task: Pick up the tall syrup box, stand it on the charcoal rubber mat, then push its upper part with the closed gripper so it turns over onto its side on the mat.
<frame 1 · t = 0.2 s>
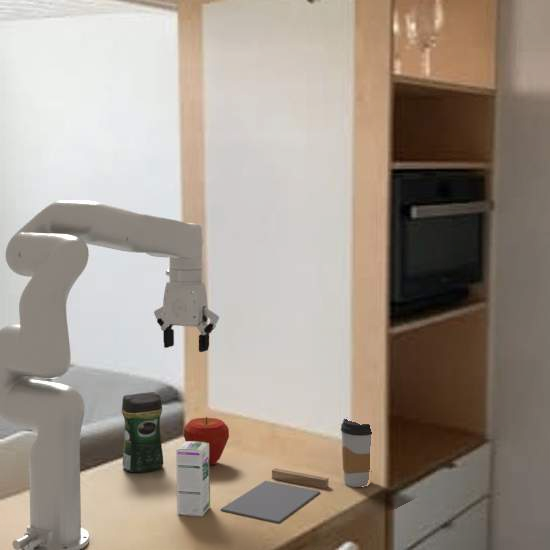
hand: (186, 348, 206), 31 cm above the table, tool pointing down, fingers open, 9 cm apart
coffee jar: (142, 468, 215), on the table
mat: (271, 501, 194), on the table
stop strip: (299, 482, 206), on the table
coffee cup: (357, 484, 206), on the table
syrup box: (193, 511, 188), on the table
apple: (206, 464, 218), on the table
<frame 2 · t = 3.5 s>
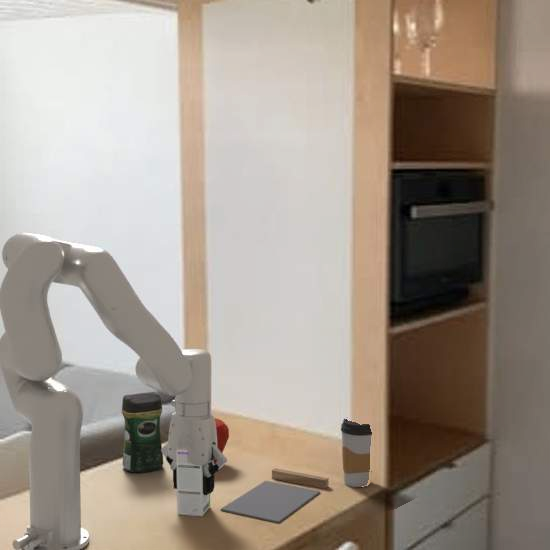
hand: (193, 489, 187), 5 cm above the table, tool pointing down, fingers closed on syrup box, 6 cm apart
syrup box: (193, 511, 188), on the table, touching gripper
everything else where it was.
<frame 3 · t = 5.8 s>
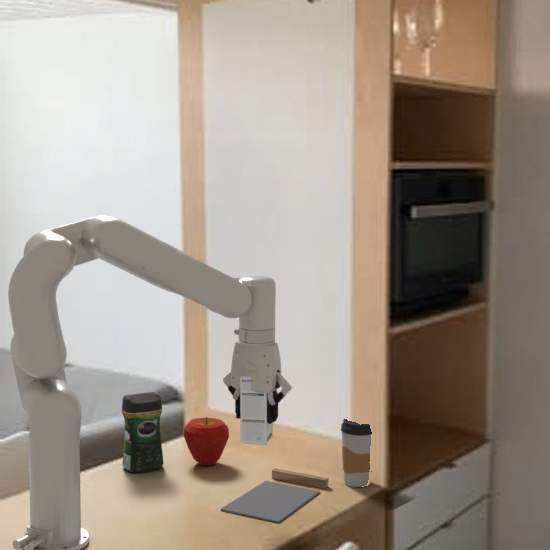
hand: (256, 418, 185), 20 cm above the table, tool pointing down, fingers closed on syrup box, 6 cm apart
syrup box: (256, 441, 186), point 15 cm above the table, touching gripper
everything else where it was.
when the fingers open (6 cm above the table, at t = 8.4 s): syrup box stays where it is, resting on mat.
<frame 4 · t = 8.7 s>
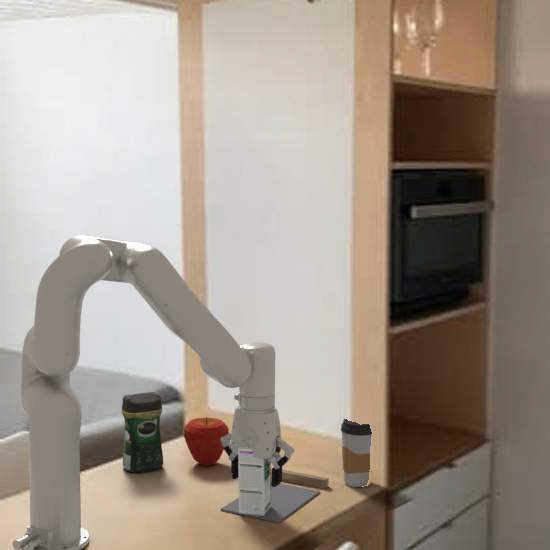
hand: (256, 481, 187), 7 cm above the table, tool pointing down, fingers open, 9 cm apart
syrup box: (254, 510, 187), resting on mat
everything else where it was.
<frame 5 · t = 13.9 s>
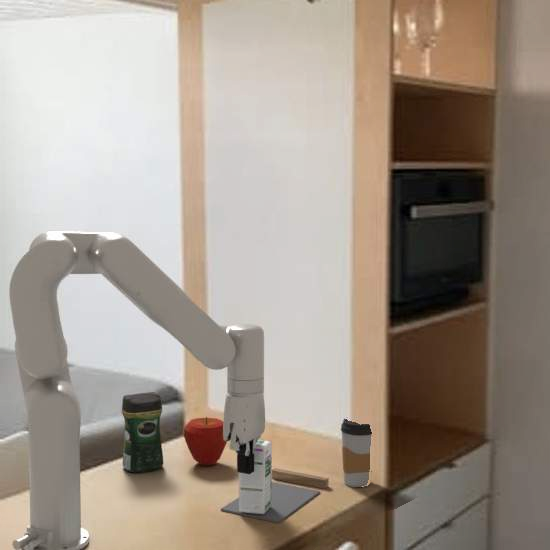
hand: (245, 471, 182), 10 cm above the table, tool pointing down, fingers closed
syrup box: (254, 510, 187), resting on mat, touching gripper
everything else where it was.
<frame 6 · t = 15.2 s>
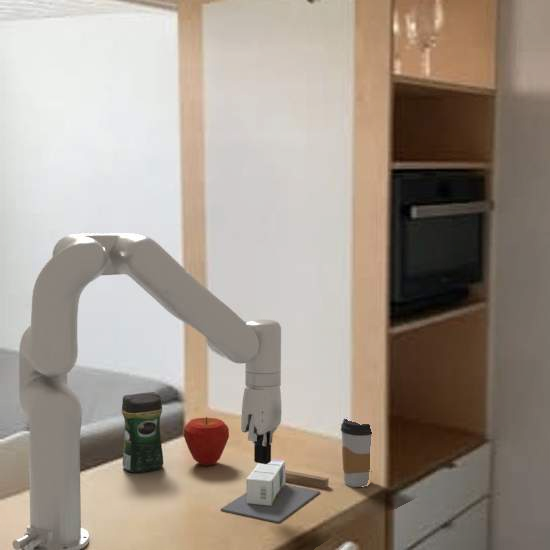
hand: (262, 462, 188), 10 cm above the table, tool pointing down, fingers closed
syrup box: (258, 492, 190), point 3 cm above the table, touching mat
everything else where it was.
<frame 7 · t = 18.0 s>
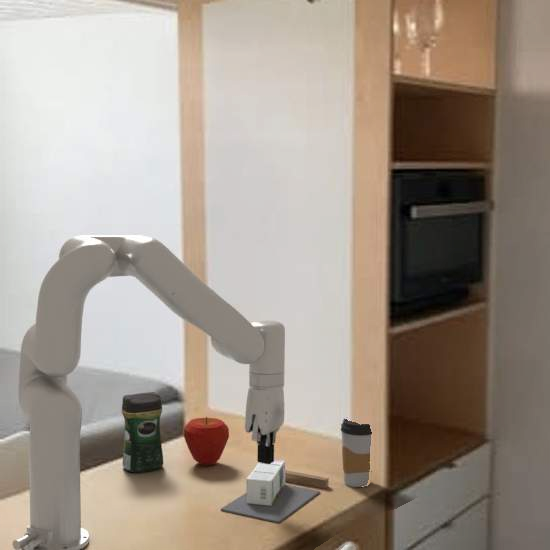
hand: (265, 462, 190), 10 cm above the table, tool pointing down, fingers closed
nothing on the table moved.
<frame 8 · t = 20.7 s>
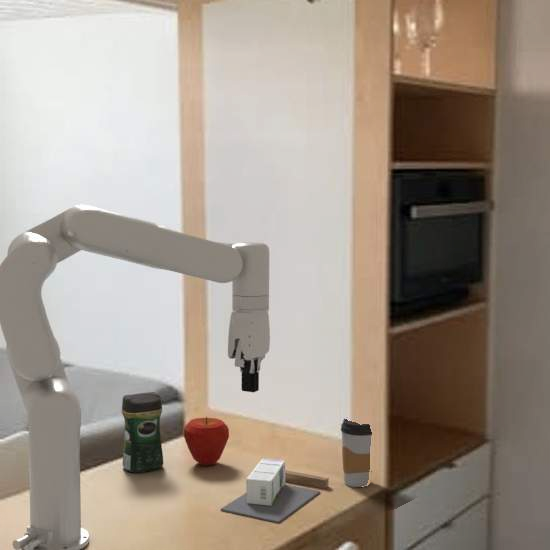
hand: (250, 390, 182), 27 cm above the table, tool pointing down, fingers closed
nothing on the table moved.
at the end: syrup box tilted 90°; syrup box inside the target area (7.1 cm from its centre), point 3.3 cm above the table; the gripper is holding nothing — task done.
